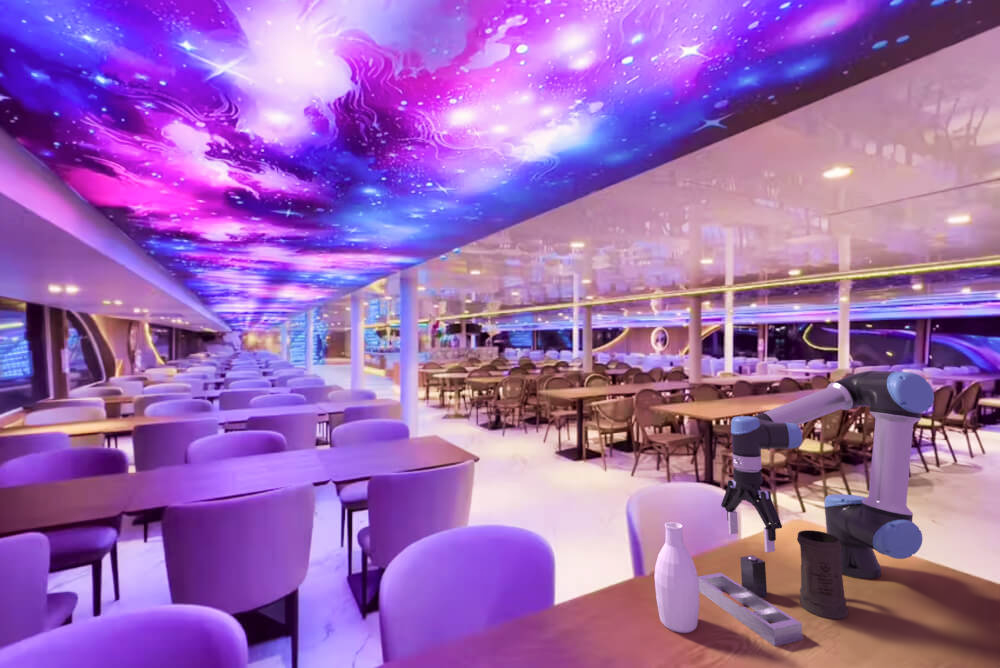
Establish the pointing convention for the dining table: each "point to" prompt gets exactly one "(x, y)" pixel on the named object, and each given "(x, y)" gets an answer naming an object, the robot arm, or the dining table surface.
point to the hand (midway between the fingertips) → (750, 542)
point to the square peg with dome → (754, 575)
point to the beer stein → (821, 575)
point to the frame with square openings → (764, 612)
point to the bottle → (676, 583)
